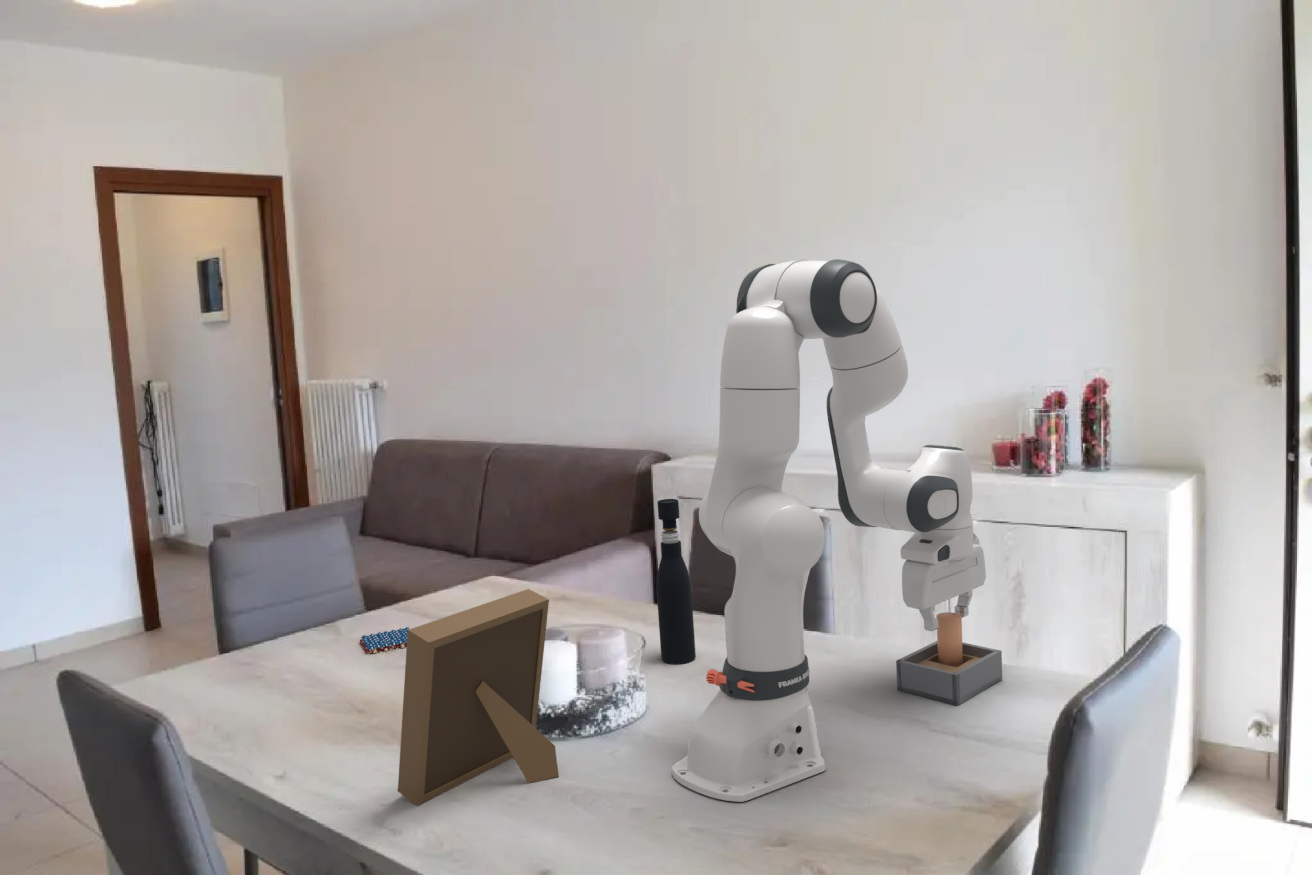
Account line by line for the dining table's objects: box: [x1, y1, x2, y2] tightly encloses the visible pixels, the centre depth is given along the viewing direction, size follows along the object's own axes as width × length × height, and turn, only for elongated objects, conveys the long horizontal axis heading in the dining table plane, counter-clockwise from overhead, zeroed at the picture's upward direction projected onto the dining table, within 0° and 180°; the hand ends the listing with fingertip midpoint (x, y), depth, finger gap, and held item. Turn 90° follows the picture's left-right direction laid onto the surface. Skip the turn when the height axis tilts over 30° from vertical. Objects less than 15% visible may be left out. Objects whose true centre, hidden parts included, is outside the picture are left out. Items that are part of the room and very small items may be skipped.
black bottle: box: [655, 498, 697, 665], centre depth 186 cm, size 6×6×30 cm
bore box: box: [895, 640, 1003, 707], centre depth 165 cm, size 14×11×5 cm
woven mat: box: [359, 626, 410, 656], centre depth 208 cm, size 10×11×2 cm
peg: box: [936, 611, 963, 667], centre depth 168 cm, size 4×4×10 cm
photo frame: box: [397, 588, 559, 807], centre depth 141 cm, size 15×22×25 cm
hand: (946, 622), depth 167 cm, fingers open, 8 cm apart
